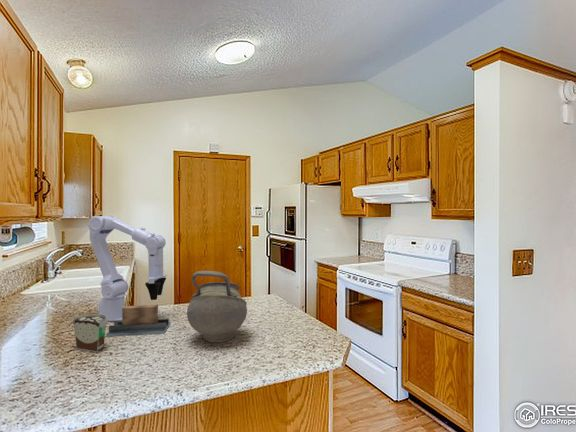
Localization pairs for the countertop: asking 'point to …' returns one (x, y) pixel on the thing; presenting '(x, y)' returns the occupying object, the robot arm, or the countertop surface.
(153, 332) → the track
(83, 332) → the food container
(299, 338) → the countertop surface
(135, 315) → the door panel
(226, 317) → the pot
